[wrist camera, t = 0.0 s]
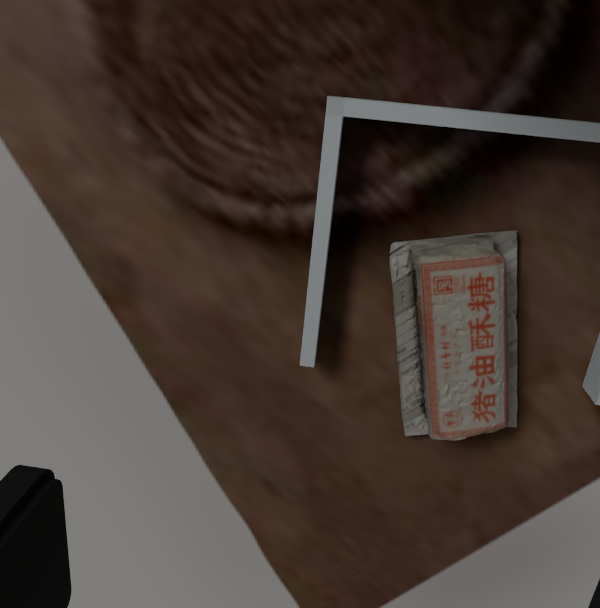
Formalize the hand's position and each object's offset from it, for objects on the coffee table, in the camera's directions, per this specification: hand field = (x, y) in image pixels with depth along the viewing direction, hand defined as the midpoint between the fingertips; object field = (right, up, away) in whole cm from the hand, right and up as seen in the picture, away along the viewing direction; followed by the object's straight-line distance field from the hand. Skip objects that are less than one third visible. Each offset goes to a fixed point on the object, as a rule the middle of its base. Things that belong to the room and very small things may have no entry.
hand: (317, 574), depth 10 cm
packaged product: (+13, +2, +38) cm, 40 cm away
